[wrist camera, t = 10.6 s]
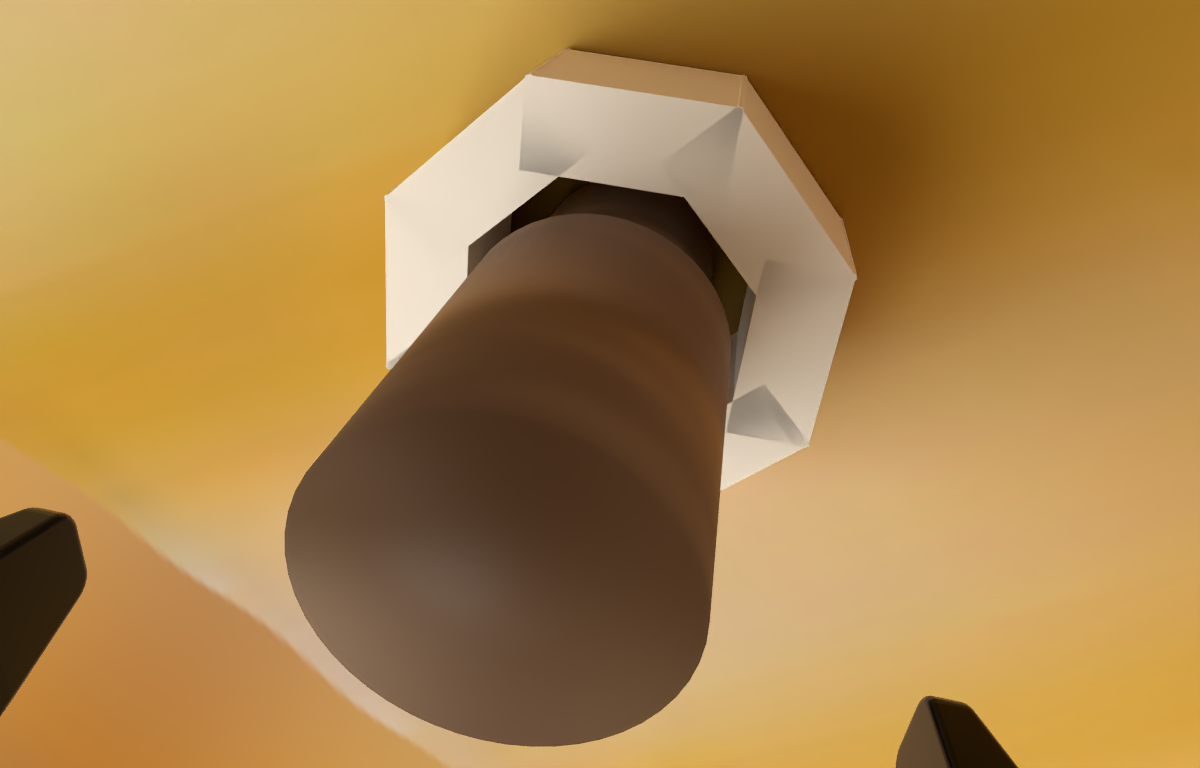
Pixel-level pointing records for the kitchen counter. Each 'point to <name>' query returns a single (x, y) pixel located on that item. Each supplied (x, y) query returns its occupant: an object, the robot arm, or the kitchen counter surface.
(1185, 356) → the kitchen counter surface
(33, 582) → the robot arm
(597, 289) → the walnut peg
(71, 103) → the kitchen counter surface
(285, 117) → the kitchen counter surface
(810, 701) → the kitchen counter surface
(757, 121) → the socket collar
